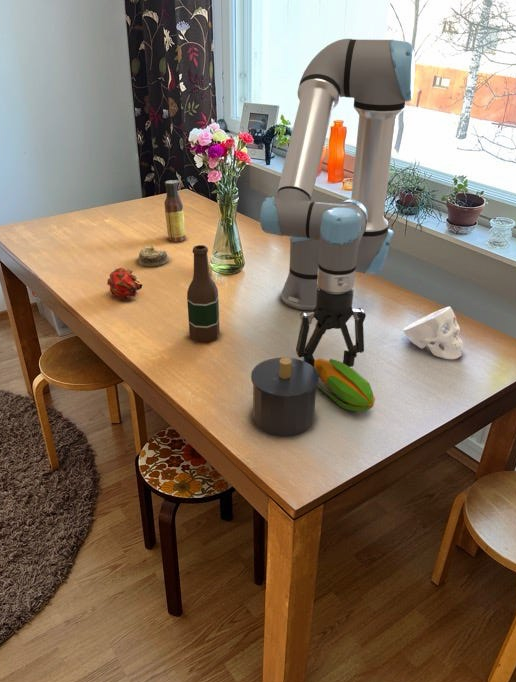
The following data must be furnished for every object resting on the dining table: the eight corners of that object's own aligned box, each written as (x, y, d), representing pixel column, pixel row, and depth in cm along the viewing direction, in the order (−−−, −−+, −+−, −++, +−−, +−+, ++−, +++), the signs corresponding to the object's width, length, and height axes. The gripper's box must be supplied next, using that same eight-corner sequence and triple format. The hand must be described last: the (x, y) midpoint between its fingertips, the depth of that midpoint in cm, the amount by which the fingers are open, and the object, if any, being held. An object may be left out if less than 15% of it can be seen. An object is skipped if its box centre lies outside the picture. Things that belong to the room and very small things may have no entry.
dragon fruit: (117, 291, 175) (137, 311, 169) (94, 283, 168) (114, 303, 162) (131, 267, 173) (152, 286, 167) (109, 257, 166) (130, 277, 160)
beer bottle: (225, 333, 152) (223, 244, 138) (208, 346, 147) (204, 256, 133) (201, 325, 155) (196, 238, 142) (183, 338, 150) (176, 249, 136)
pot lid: (247, 364, 123) (246, 345, 120) (310, 359, 124) (311, 340, 122) (256, 403, 112) (256, 383, 109) (325, 397, 113) (327, 377, 111)
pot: (249, 401, 128) (249, 363, 122) (306, 397, 129) (308, 359, 124) (258, 439, 118) (258, 399, 112) (319, 433, 119) (322, 393, 113)
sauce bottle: (189, 238, 206) (185, 180, 195) (178, 244, 202) (174, 185, 190) (175, 234, 209) (170, 177, 198) (163, 240, 205) (158, 182, 193)
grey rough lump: (156, 271, 185) (153, 255, 181) (132, 264, 189) (128, 249, 186) (175, 258, 191) (173, 242, 188) (151, 252, 195) (149, 237, 192)
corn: (359, 394, 117) (300, 349, 131) (353, 424, 121) (297, 378, 135) (386, 384, 121) (326, 342, 134) (380, 414, 125) (322, 370, 139)
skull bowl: (456, 364, 138) (439, 315, 135) (408, 370, 149) (392, 326, 147) (478, 347, 144) (462, 300, 142) (431, 355, 155) (415, 312, 153)
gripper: (289, 298, 115) (286, 392, 128) (389, 292, 118) (375, 385, 131) (283, 282, 121) (280, 373, 134) (377, 276, 124) (365, 366, 137)
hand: (327, 379), depth 133 cm, fingers closed on corn, 7 cm apart
